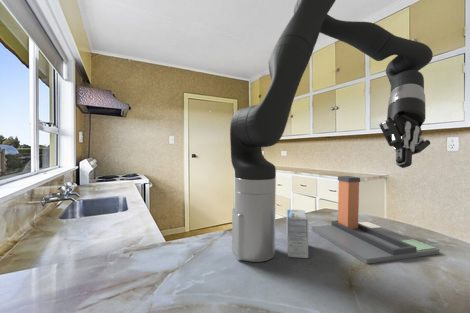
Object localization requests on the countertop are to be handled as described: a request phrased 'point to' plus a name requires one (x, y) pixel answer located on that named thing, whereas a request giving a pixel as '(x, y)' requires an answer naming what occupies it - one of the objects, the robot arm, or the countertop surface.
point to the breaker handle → (348, 201)
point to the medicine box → (297, 234)
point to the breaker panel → (373, 242)
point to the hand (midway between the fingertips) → (403, 165)
